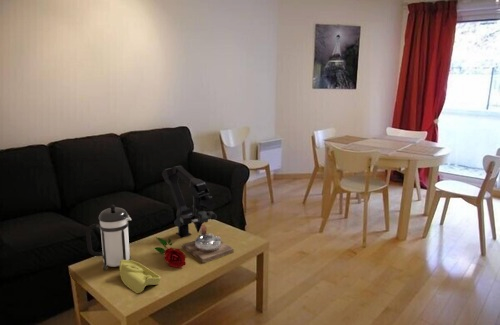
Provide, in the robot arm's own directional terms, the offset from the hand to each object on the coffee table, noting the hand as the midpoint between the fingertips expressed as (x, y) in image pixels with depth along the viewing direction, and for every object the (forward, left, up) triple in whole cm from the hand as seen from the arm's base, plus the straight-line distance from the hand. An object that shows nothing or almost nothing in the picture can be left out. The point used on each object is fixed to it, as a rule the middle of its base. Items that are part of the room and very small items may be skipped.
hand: (198, 232), depth 201 cm
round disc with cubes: (+8, +1, -4) cm, 9 cm away
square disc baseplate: (+10, 0, -6) cm, 12 cm away
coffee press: (-4, -44, -6) cm, 44 cm away
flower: (+4, -20, -7) cm, 22 cm away
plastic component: (+16, -40, -7) cm, 43 cm away
